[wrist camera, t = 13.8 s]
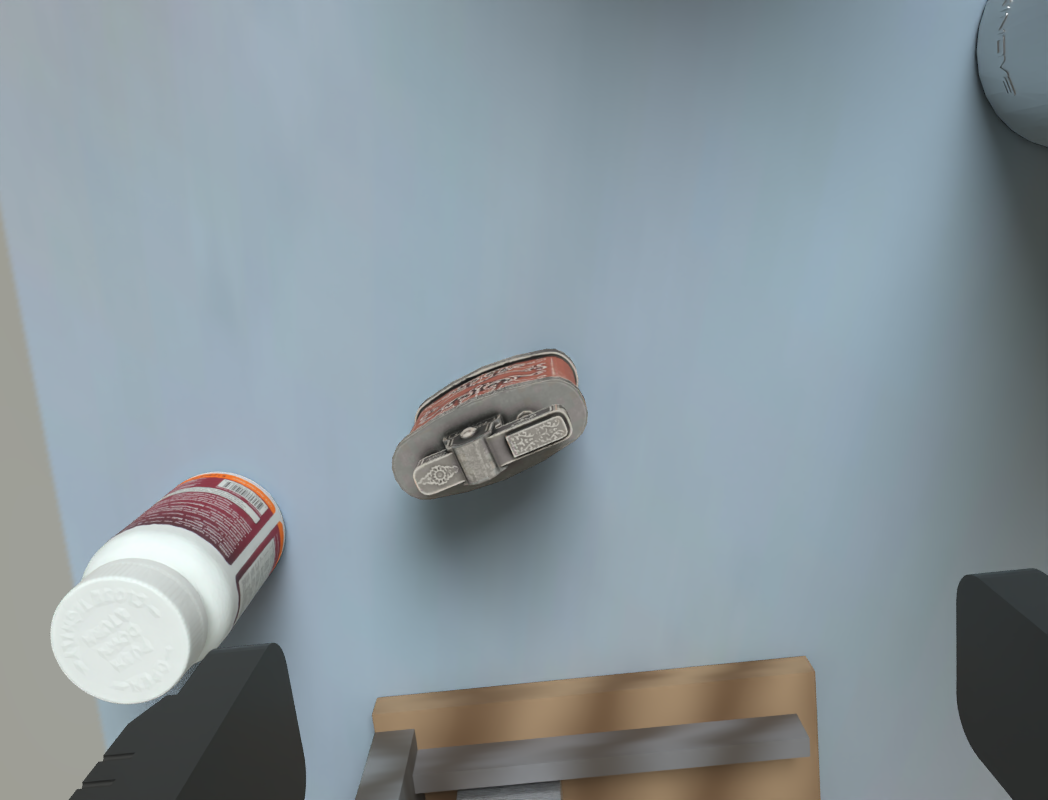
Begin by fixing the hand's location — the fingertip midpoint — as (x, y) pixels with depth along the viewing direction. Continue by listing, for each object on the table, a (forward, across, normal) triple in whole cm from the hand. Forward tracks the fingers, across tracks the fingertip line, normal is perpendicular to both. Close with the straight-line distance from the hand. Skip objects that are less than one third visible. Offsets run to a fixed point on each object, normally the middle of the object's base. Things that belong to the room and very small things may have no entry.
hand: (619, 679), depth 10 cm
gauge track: (+30, 0, +24) cm, 38 cm away
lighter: (+30, +3, +3) cm, 31 cm away
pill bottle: (+30, +17, +8) cm, 36 cm away
